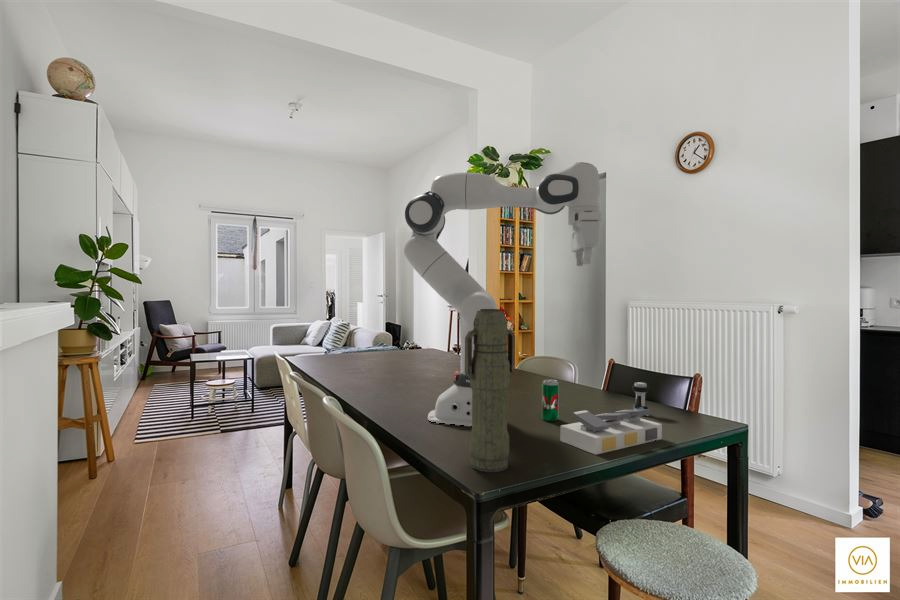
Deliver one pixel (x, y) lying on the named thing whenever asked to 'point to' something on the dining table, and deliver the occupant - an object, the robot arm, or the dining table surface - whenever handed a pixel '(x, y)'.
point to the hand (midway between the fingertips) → (583, 265)
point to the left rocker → (590, 420)
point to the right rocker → (635, 412)
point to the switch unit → (611, 434)
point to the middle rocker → (613, 416)
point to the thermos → (489, 388)
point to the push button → (640, 395)
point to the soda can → (550, 400)
